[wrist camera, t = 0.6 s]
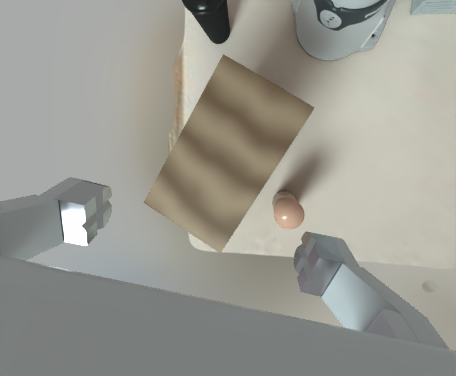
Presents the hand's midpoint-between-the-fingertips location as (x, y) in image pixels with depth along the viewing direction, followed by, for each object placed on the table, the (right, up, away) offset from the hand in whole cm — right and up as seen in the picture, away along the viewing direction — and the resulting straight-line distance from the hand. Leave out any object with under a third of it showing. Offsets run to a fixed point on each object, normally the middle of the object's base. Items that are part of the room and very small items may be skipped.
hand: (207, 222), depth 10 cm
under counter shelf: (+3, +8, +44) cm, 45 cm away
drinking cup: (-1, +35, +41) cm, 54 cm away
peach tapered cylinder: (+14, -2, +43) cm, 46 cm away
